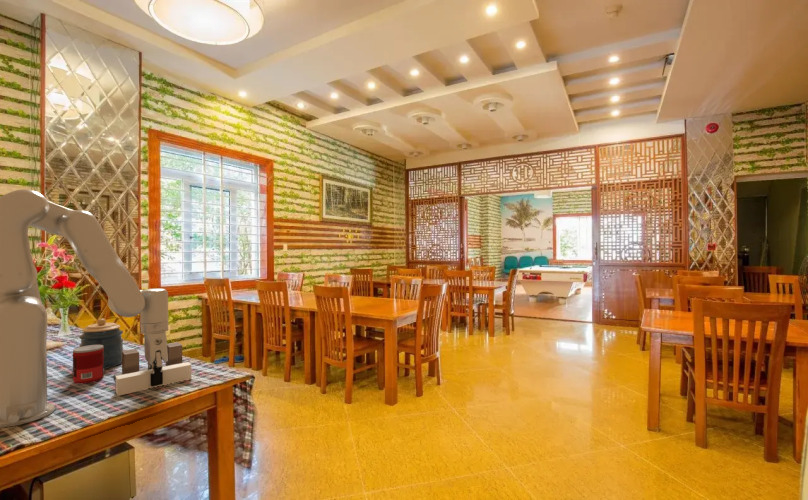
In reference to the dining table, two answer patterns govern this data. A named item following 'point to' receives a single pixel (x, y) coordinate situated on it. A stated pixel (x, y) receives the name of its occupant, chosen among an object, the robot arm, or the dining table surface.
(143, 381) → the shelf board
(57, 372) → the dining table surface
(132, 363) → the post stand
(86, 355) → the canned food
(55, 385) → the dining table surface
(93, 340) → the canister
